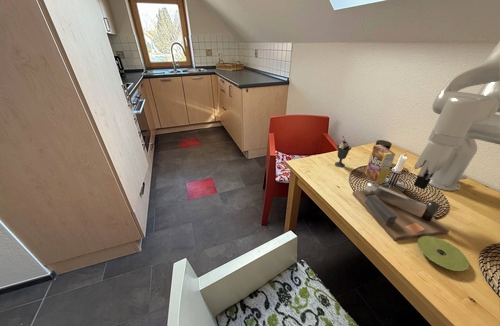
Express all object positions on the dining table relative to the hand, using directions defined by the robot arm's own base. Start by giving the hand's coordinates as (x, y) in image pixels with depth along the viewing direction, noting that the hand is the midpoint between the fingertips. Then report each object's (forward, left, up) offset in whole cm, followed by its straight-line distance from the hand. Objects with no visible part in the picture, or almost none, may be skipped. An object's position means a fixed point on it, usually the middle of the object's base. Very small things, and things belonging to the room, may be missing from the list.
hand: (419, 186), depth 71 cm
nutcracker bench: (+7, +1, -10) cm, 12 cm away
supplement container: (-12, -34, -10) cm, 38 cm away
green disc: (+8, +20, -10) cm, 23 cm away
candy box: (+1, -19, -10) cm, 22 cm away
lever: (+7, 0, -7) cm, 10 cm away
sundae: (+10, -33, -10) cm, 36 cm away
